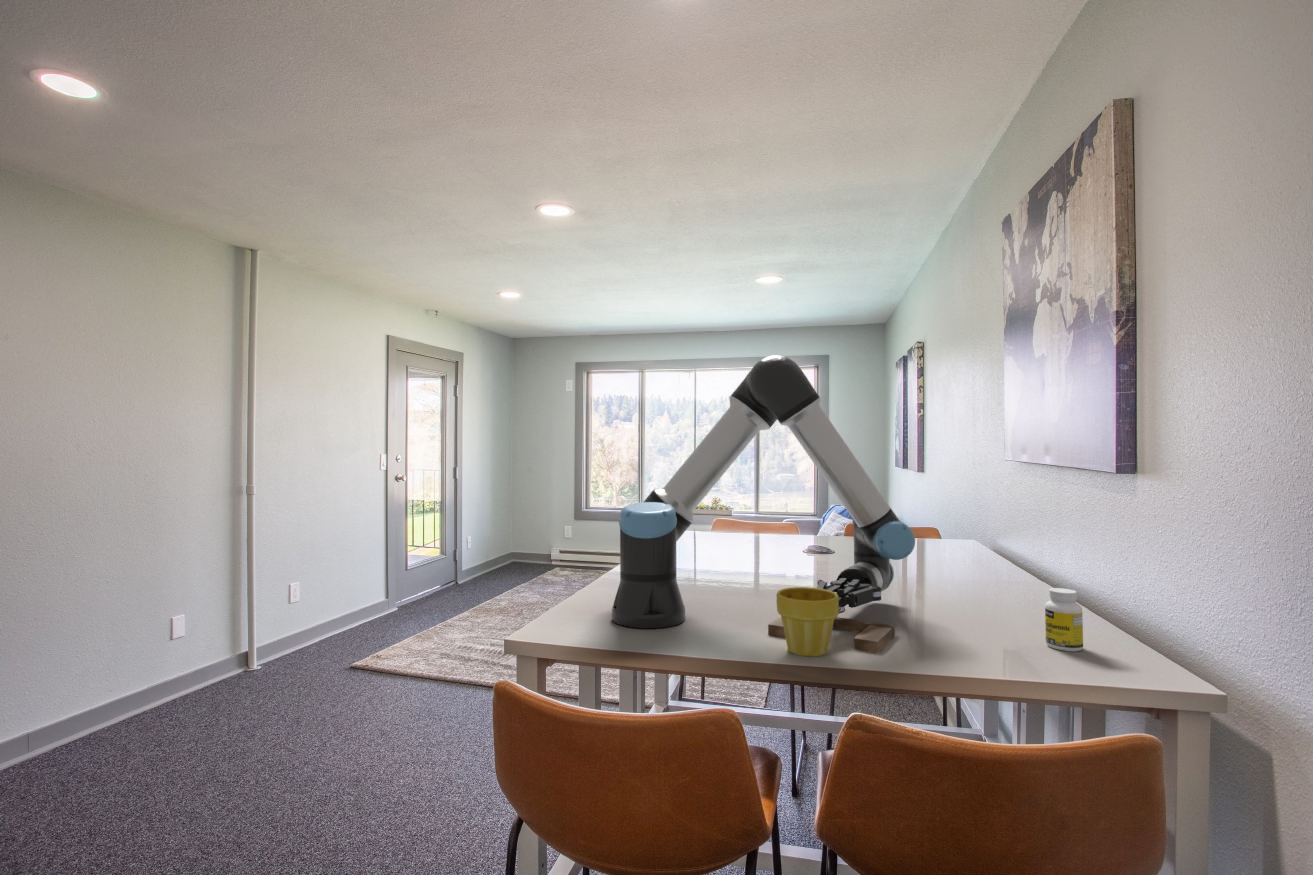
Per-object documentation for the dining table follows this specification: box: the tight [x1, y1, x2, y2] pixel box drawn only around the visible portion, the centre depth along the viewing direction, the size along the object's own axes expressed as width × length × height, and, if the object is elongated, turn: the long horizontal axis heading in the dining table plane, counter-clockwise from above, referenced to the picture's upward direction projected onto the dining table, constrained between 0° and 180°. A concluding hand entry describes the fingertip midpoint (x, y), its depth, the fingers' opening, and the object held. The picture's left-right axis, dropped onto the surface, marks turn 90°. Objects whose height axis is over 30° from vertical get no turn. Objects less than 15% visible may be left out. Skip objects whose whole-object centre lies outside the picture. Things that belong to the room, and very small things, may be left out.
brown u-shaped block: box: [767, 616, 896, 653], centre depth 115 cm, size 20×12×2 cm, turn 56°
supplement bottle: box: [1044, 587, 1084, 653], centre depth 106 cm, size 5×5×10 cm
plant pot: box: [776, 586, 840, 657], centre depth 105 cm, size 10×10×10 cm
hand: (821, 606), depth 110 cm, fingers closed
